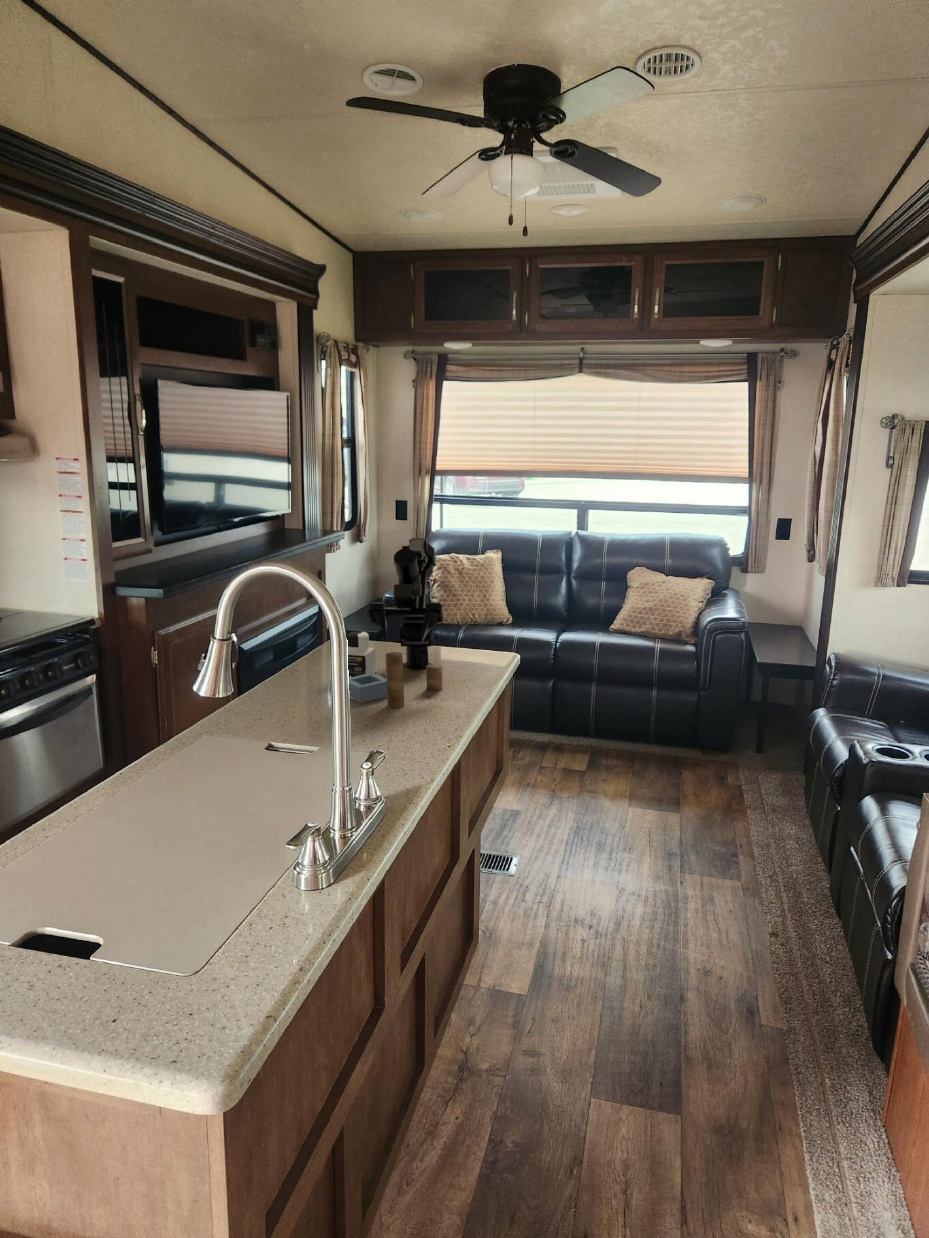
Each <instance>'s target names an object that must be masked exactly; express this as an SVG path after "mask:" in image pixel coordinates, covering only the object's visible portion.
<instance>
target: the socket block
mask: <svg viewBox="0 0 929 1238" xmlns="http://www.w3.org/2000/svg"><path fill="white" fill-rule="evenodd" d="M349 691H350V698H349V699H351V697H352V698H353V699H352V700H353V701H354V702H357V701H358V702H357V703H359V704H362V702H364V703H366V702H365V701H368V702H371V700H372V701H375V700H374V699H376V700H379V698H380V699H383V698H382V697H384V698H388V697H387V678H385V677H384V676H380V675H378V674H376V673H369V674H364V675H360V676H355V677H351V678H349Z"/></svg>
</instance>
